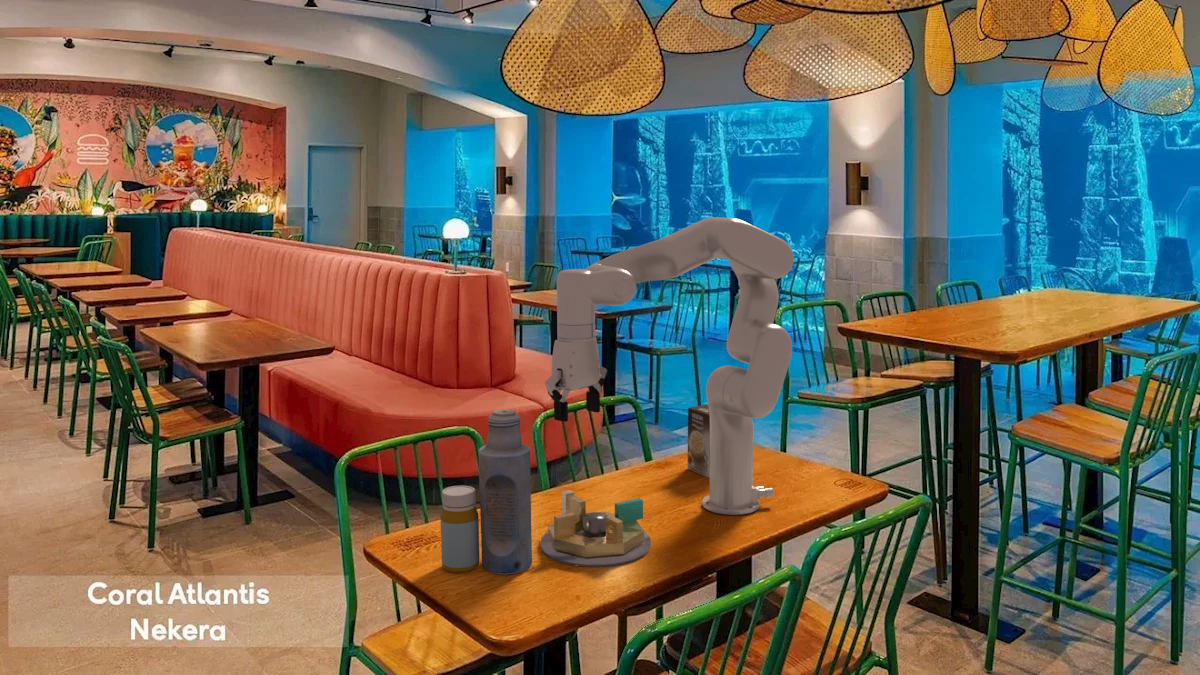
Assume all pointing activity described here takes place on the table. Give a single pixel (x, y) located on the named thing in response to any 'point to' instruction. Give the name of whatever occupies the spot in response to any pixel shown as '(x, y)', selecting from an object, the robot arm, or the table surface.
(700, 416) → the coffee box
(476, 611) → the table surface
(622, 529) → the wooden castle nut
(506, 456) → the bottle
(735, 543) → the table surface
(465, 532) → the bottle
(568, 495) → the hub
